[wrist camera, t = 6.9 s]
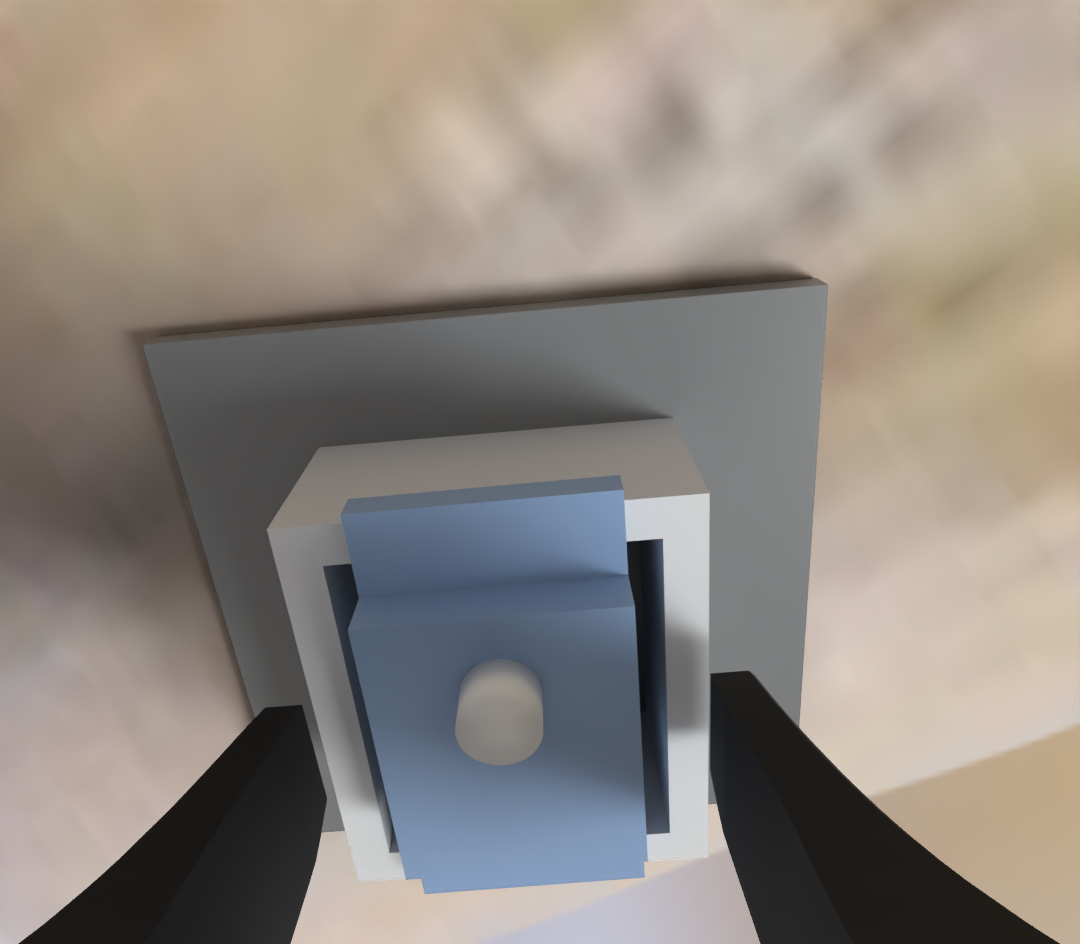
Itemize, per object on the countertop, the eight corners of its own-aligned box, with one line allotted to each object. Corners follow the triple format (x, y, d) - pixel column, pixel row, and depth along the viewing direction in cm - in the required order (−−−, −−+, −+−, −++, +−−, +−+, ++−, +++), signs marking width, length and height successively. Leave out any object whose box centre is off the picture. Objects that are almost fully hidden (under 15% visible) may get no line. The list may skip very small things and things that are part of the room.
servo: (444, 745, 18) (412, 982, 13) (384, 421, 14) (312, 574, 10) (622, 731, 18) (657, 964, 13) (601, 402, 14) (638, 547, 9)
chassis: (296, 814, 19) (245, 967, 16) (156, 336, 14) (38, 406, 11) (786, 778, 19) (844, 925, 16) (817, 278, 14) (910, 330, 11)
